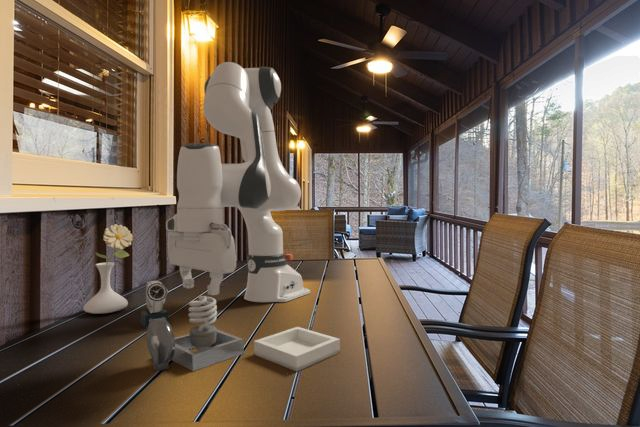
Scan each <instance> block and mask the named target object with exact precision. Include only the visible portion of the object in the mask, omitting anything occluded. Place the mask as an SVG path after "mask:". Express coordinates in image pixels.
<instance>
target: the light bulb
mask: <svg viewBox="0 0 640 427" xmlns="http://www.w3.org/2000/svg"><path fill="white" fill-rule="evenodd" d="M188 305H189V306H190V307H188V308H187V309H188V312H189V313H188V315H187V316H188V317H189V320H188V321H189V323H191V324H198V323H202V324H200V325H196V326H194V327H191V328H190V329H189V334H190V343H191V345H192V346H194V347H196V352H197V351H200V350H204V349H207V348H210V347H211V346H213V345H215V344H214V343H215V342H216V336H217V329H218V328H217V326H215V325H212V324H214V323H215V322H216V321H217V315H218V311H217V309H218V306H217V300H216V299H215V298H214V297H212V296H206V295H199V296H198V300H191V301H190V302H188ZM202 305H203V306H202Z"/></svg>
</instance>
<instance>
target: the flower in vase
mask: <svg viewBox="0 0 640 427" xmlns="http://www.w3.org/2000/svg"><path fill="white" fill-rule="evenodd" d="M102 240H103V241H104V242H105V244H106V245H107V246H108V247H109V248H113V251H112V253H111V255H110V256H107V255H106V254H105V255H104V254H101V253H99V252H96V251H95V254H96V256H97V257H99V258H102V259H107V261H106V262H99V263H95V267H96V268H97V270H98V272H99V275H100V283H101V284H100V289H99V291H98V292H97V293H96V294H94V296H92V297H91V298H90V299H89V300H88V301H87V302H86V303H85V304H84V305H83V308H82V309H83V311H84V312H86V313H87V314H88V313H89V314H95V315H96V314H97V315H98V314H102V315H103V314H110V313H114V312H117V311H121V310H124V309H125V308H127V306H128V305H129V302H128V300H127V299H126V298H125V297H123V296H122V295H120V294H119V293H117V292H115V291H114V290H113V289H112V287H111V272H112V269H113V267H114V266H115V262H111V261H110V260H111V259H112V257H113V256H115V257H116V258H118V259H123V258H126V257H129V256H130V254H129V253H128V252H127V251H125V250H124V249H125V248H127V247H130V246H132V241H133V233H131V230H129V229H128V227H126V226H123V225H122V224H119V225H118V224H117V223H115V224H114V225H113V224H112V225H110V226H109V227H106V228H105V229H104V233H103V239H102ZM116 249H117V251H116Z"/></svg>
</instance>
